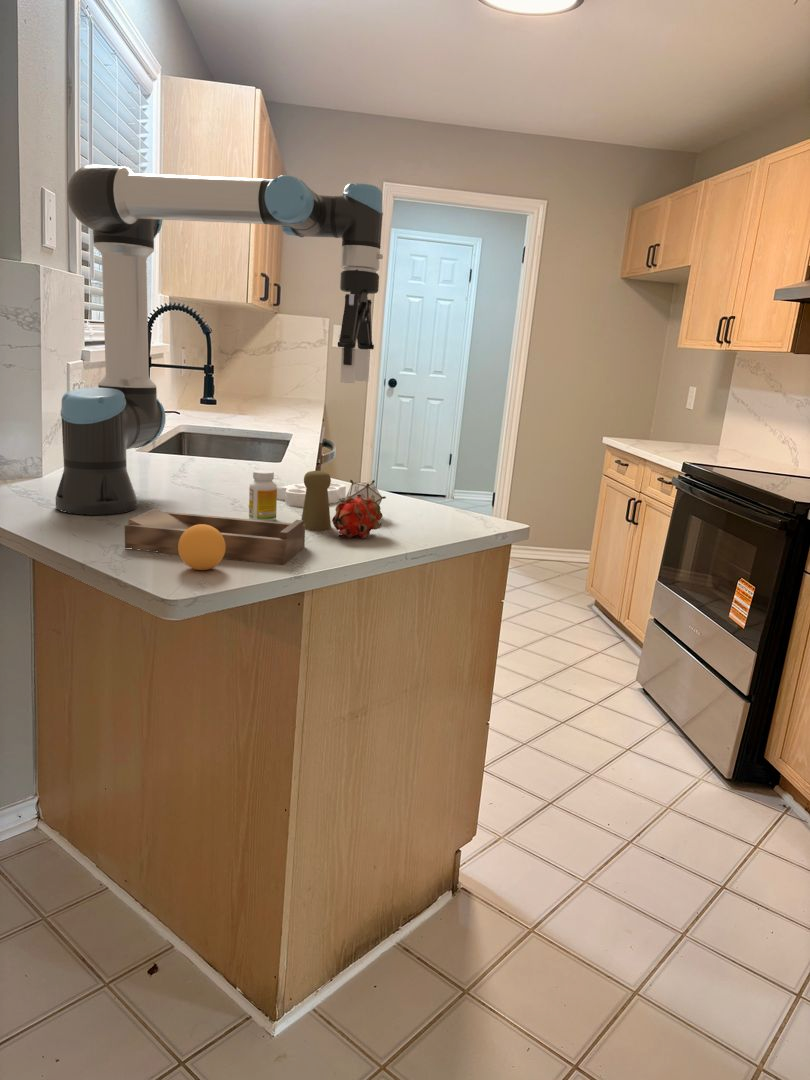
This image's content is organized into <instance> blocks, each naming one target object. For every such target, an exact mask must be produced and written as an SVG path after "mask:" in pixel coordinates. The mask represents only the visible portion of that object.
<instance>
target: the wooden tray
mask: <svg viewBox="0 0 810 1080" xmlns="http://www.w3.org/2000/svg"><path fill="white" fill-rule="evenodd" d="M198 524H206V525H210V526H212V527H214V528H216V529H217V530H218V531H219V532H220V533H221V534H222V536H223V538H224V541H225V546H226V548H225V554H224V556H223V558H227V559H226V560H232V559H237V560H236V561H242V560H245V562H252V561H255V562H256V563H262V562H266V563H265V564H272V563H274V565H282V566H283V565H286V564H287V563H288V562H289V561H290V560H291V559H293V558H294V557H295V556H296V555H297V554H298V553H299V552H300V551H302V549H304V548H305V541H306V539H305V538H306V529H305V524H304V520H301V519H295V520H294V521H293V522H282V521H262V520H251V519H249V518H239V517H238V518H237V517H227V516H219V515H207V514H196V513H194V514H193V513H185V512H184V513H183V512H174V511H173V512H172V511H164V510H161V509H158V508H154V509H151V510H149V511H146V512H143V513H141V514H138V515H137V516H133V517H132V518H129V520H128V522H127V524H124V548H132V549H140V550H139V551H141V550H149V551H148V552H151V551H158V552H157V553H161V552H166V553H165V554H171V553H174V554H173V555H179V551H178V543H179V540H180V537H181V535H182V534H183V533H184V532H185V531H186V530H187V529H188V528H190V527H192V526H194V525H198Z"/></svg>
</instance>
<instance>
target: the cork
mask: <svg viewBox="0 0 810 1080" xmlns="http://www.w3.org/2000/svg"><path fill="white" fill-rule="evenodd" d="M331 479H332V478H331V475H330V473H328V472H326V471H323V470H310V471H307V472H306V473H305V474H304V476H303V483H304V484H305V486H306V494H305V501H304V507H302V513H301V519H300V520H304V524H305V531H306V530H308V531H317V532H318V531H327V530H330V529H331V528H332V525H331V524H332V520H331V515H330V514H331V512H330V503H329V500H328V488H329V486H330V483H332V482H331V481H332V480H331Z"/></svg>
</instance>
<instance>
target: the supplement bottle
mask: <svg viewBox="0 0 810 1080" xmlns="http://www.w3.org/2000/svg"><path fill="white" fill-rule="evenodd" d="M252 473H253V474H252V477H253V480H254V481H253V480H252V482H250V483H249V487H248V488H249V489H248V490H249V495H248V496H249V498H248V501H249V502H248V503H249V504H248V519H251V520H262V521H273V522H275V521H276V520H277V503H278V502H277V501H278V499H277V487H278V486H277V484H276V483H275V482H274V481H273V480H274V478H275V476H274V475H275V474H274V471H271V470H265V469H259V470H258V469H257V470H254V471H253V472H252Z"/></svg>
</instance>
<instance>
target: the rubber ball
mask: <svg viewBox="0 0 810 1080" xmlns="http://www.w3.org/2000/svg"><path fill="white" fill-rule="evenodd" d="M225 548H226V546H225V541H224V538H223V536H222V534H221V533H220V532H219V531H218V530H217V529H216V528H214V527H212V526H210V525H206V524H198V525H194V526H192V527H190V528H188V529H187V530H186V531H185V532H184V533H183V534H182V535H181V537H180V540H179V543H178V551H179V554H178V555H179V557H180V559H181V561H182V562H183V563H184V564H185V565H187V566H188V567H189V568H191V569H193V570H197V571H206V570H210V569H213V568H215V567H216V566H217V565H219V564H220V563H221V561H222V560H223V559H222V558H223V556H224V554H225Z"/></svg>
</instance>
